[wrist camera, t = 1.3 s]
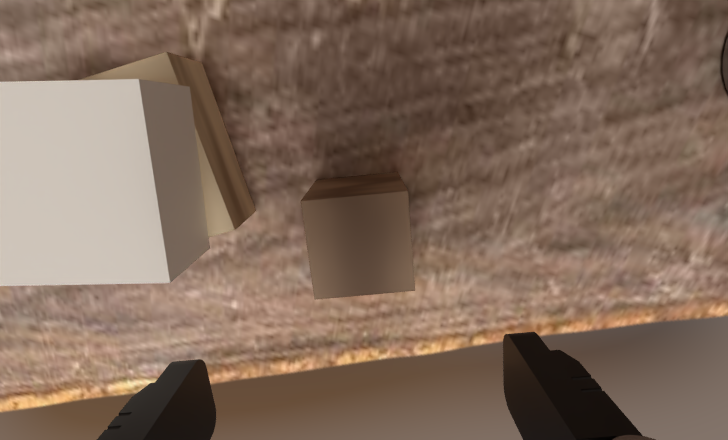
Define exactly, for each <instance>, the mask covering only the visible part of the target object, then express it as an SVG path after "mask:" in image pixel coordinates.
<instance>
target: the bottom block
mask: <svg viewBox="0 0 728 440" xmlns="http://www.w3.org/2000/svg"><path fill="white" fill-rule="evenodd" d="M117 79H142V80H148V81H155V82H162V83H168V84H175V85H182V86H188V87H190V92H191V100H192V109H193V117H194V125H195V133H196V141H197V149H198V157H199V165H200V173H201V181H202V189H203V197H204V205H205V213H206V221H207V229H208V237H212V236H215V235H219V234H223V233H226V232H230V231H233V230H235V229H236V228H238V227H239V226H240V225H241V224H242V223H243V222H244V221H245V220H246V219H248V218H249V217H250V216H251V215H252V214H253V213H254V212H255V211H256V210H255V207H254V204H253V202H252V199H251V196H250V193H249V191H248V188H247V185H246V182H245V180H244V177H243V174H242V171H241V169H240V166H239V163H238V160H237V158H236V155H235V152H234V150H233V147H232V144H231V141H230V139H229V136H228V133H227V130H226V128H225V125H224V122H223V119H222V117H221V114H220V111H219V108H218V106H217V103H216V100H215V97H214V95H213V92H212V89H211V87H210V84H209V81H208V78H207V76H206V73H205V70H204V67H203V65H202V63H201V62H197V61H194V60H191V59H188V58H185V57H181V56H178V55H175V54H172V53H168V52H164V53H161V54H158V55H155V56H152V57H149V58H146V59H142V60H139V61H136V62H133V63H130V64H127V65H124V66H121V67H117V68H114V69H111V70H108V71H105V72H102V73H99V74H96V75H92V76H89V77H86V78H83V79H80V80H117Z"/></svg>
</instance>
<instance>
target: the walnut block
mask: <svg viewBox="0 0 728 440" xmlns="http://www.w3.org/2000/svg"><path fill="white" fill-rule="evenodd" d="M301 207H302V214H303V221H304V229H305V236H306V243H307V250H308V257H309V264H310V271H311V278H312V285H313V292H314V300H315V299H326V298H338V297H349V296H360V295H371V294H383V293H394V292H405V291H415V281H414V267H413V253H412V239H411V225H410V211H409V197H408V190H407V188H406V186H405V185H404V183H403V181H402V179H401V177H400V176H399V174H398V172H392V173H382V174H372V175H361V176H351V177H341V178H331V179H320V180H316V181H315V183H314V184H313V185H312V187H311V188H310V189H309V191H308V192H307V193H306V195H305V196H304V197H303V199H302V200H301Z"/></svg>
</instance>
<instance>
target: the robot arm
mask: <svg viewBox="0 0 728 440" xmlns="http://www.w3.org/2000/svg"><path fill="white" fill-rule="evenodd" d="M723 76H724V81H725V86H726V89H727V91H728V38H727V40H726V45H725V50H724V54H723ZM503 368H504V369H503V372H504V374H503V375H504V393H505V398H506V402H507V406H508V409H509V411H510V413H511V415H512V418H513V419H514V421H515V424H516V426H517V428H518V430H519V432H520V434H521V436H522V438H523V440H655V439H652V438H648V437H645V436H642V435H641V433H640V432H639V431H638V430H637V429H636V427H635V426H634V425H633V424H632V423H631V422H630V421H629V419H628V418H627V417H626V416H625V415H624V413H622V411H621V410H620V409H619V408H618V407H617V405H616V404H615V403H614V402H613V401H612V400H611V398H610V397H609V396H608V395H607V394H606V393H605V392H604V391H602V389H601V387H600V386H599V384H598V383H597V382H596V381H595V380H594V379H592V378H591V375H590V374H589V373H588V372H587V371H586V369H585V368H584V367H583V366H582V365H581V364H580V362H579V361H577V360H575V359H574V358H572V357H571V356H569V355H567V354H566V353H564V352H562V351H561V350H553V351H550V350H549V349H548V347H547V346H546V345H545V344H544V342H543V341H542V340H541V338H540V337H539V336H538V335H537V334H536V333H535V332H527V333H515V334H505V336H504V339H503ZM215 423H216V408H215V403H214V399H213V395H212V390H211V385H210V381H209V377H208V372H207V368H206V365H205V363H204V361H203V360H188V361H176V362H172V363H170V364H169V365H168V367H167V368H166V369H165V371H164V372H163V373H162V374H161V376H160V377H159V378H158V380H157V381H156V382H155V383H150V384H149V385H148V386H146V387H145V388H144V389H142V390H141V391H140V392H138V393H137V394H136V395H134V396H133V397H132V398H131V399H130V400H129V401H128V403H127V404H126V405H125V406H124V407H123V409H122V410H121V411H120V413H119V416H117V417H115V419H114V420H113V421H112V422H111V424H110V425H109V426H108V429H107V430H105V431H104V432H103V433H102V434H101V435H100V437H99V438H98V439H97V440H210V439H211V437H212V434H213V432H214V428H215Z"/></svg>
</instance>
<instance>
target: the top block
mask: <svg viewBox="0 0 728 440" xmlns="http://www.w3.org/2000/svg"><path fill="white" fill-rule="evenodd" d="M209 248H210V245H209V237H208V229H207V221H206V213H205V205H204V197H203V189H202V181H201V173H200V165H199V157H198V149H197V141H196V133H195V125H194V117H193V109H192V100H191V92H190V87H188V86H182V85H175V84H168V83H162V82H155V81H148V80H142V79H117V80H70V81H23V82H0V286H27V285H82V284H138V283H171V282H172V281H173V280H174V279H175V278H176V277H177V276H179V275H180V274H181V273H182V272H183V271H184V270H185V269H187V268H188V267H189V266H190V265H191V264H192V263H193V262H195V261H196V260H197V259H198V258H199V257H200V256H201V255H203V254H204V253H205V252H206V251H207V250H208V249H209Z"/></svg>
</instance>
